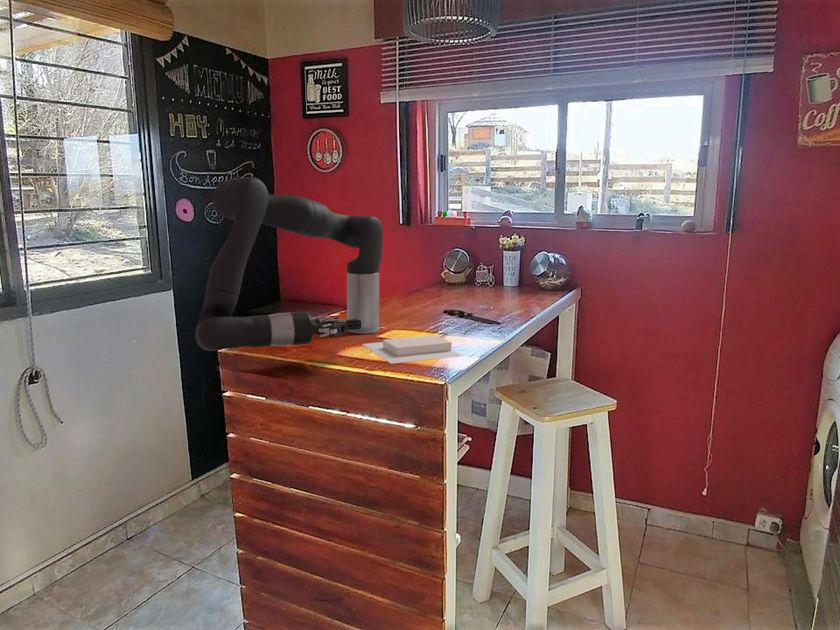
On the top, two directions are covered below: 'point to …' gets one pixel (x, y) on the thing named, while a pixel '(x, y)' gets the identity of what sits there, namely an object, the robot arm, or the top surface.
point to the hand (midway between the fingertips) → (360, 323)
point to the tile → (416, 345)
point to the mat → (392, 358)
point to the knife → (468, 316)
